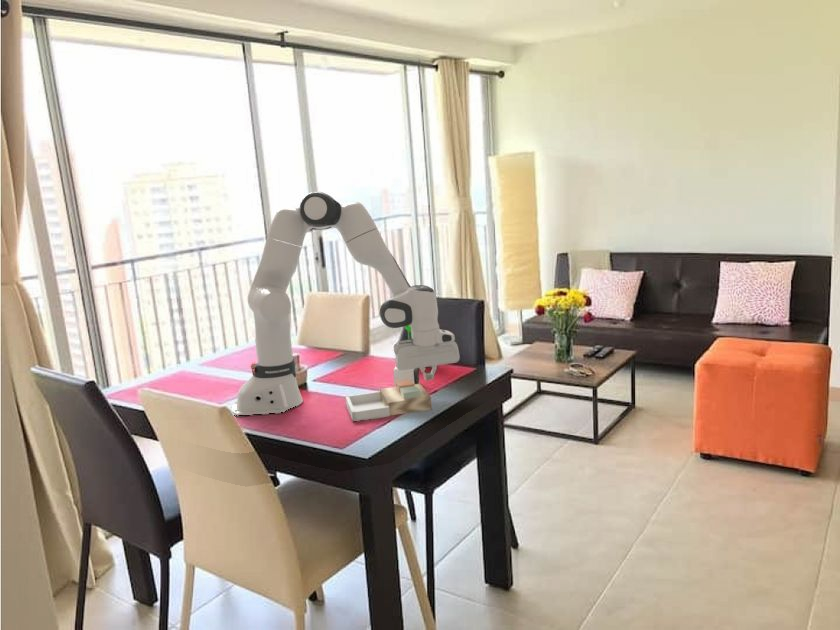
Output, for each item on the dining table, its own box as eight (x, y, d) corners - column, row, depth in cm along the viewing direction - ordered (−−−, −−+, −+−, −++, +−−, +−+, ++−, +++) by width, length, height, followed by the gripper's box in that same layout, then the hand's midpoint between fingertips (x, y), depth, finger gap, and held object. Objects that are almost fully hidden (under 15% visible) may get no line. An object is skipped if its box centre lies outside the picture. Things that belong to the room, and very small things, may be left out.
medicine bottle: (415, 389, 220) (412, 354, 217) (394, 389, 221) (391, 355, 219) (419, 383, 227) (417, 349, 224) (399, 383, 228) (396, 349, 226)
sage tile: (404, 399, 199) (403, 393, 199) (400, 394, 204) (400, 388, 203) (420, 397, 200) (419, 390, 200) (416, 392, 205) (415, 385, 204)
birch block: (389, 415, 198) (388, 402, 197) (380, 401, 211) (379, 389, 210) (431, 409, 201) (430, 396, 200) (420, 395, 214) (419, 383, 213)
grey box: (353, 422, 195) (352, 412, 194) (346, 404, 210) (345, 395, 209) (389, 416, 197) (389, 407, 196) (380, 400, 212) (379, 391, 212)
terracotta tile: (399, 392, 206) (398, 386, 205) (396, 387, 210) (395, 381, 210) (414, 390, 207) (414, 384, 206) (411, 385, 212) (410, 379, 211)
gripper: (395, 343, 202) (399, 387, 205) (459, 334, 207) (462, 377, 209) (391, 339, 208) (394, 381, 211) (453, 330, 213) (456, 372, 215)
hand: (429, 379), depth 210 cm, fingers closed
